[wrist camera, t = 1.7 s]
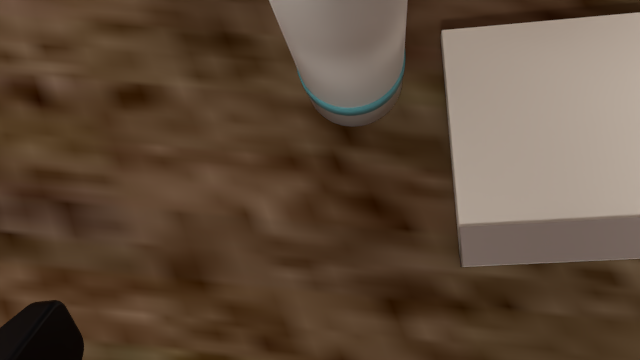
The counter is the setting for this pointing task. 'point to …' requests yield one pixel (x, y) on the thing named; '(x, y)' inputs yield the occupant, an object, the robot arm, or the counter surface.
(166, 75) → the counter surface
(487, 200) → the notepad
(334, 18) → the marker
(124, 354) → the counter surface
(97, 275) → the counter surface
